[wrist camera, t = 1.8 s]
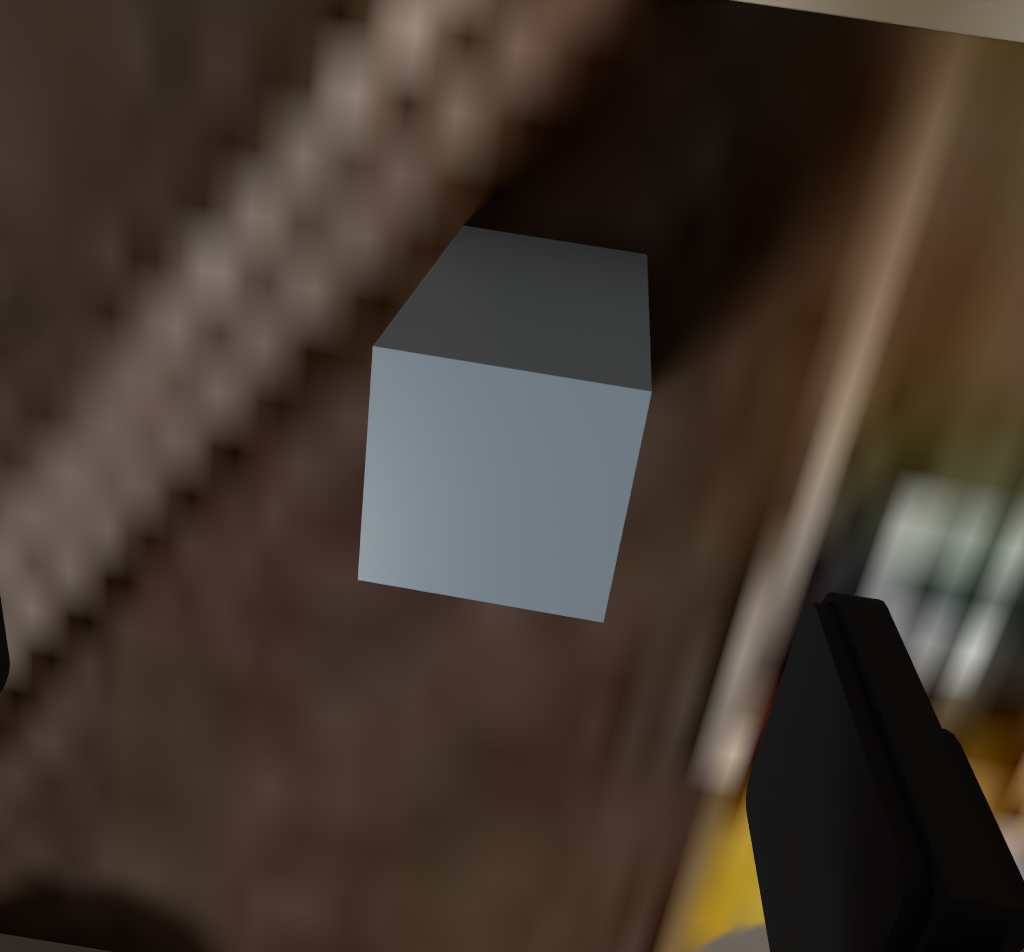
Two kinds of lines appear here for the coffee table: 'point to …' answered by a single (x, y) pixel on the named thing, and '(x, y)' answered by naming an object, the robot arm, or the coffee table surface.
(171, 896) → the coffee table surface
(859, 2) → the socket block
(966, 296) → the coffee table surface
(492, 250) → the grey rectangular block
